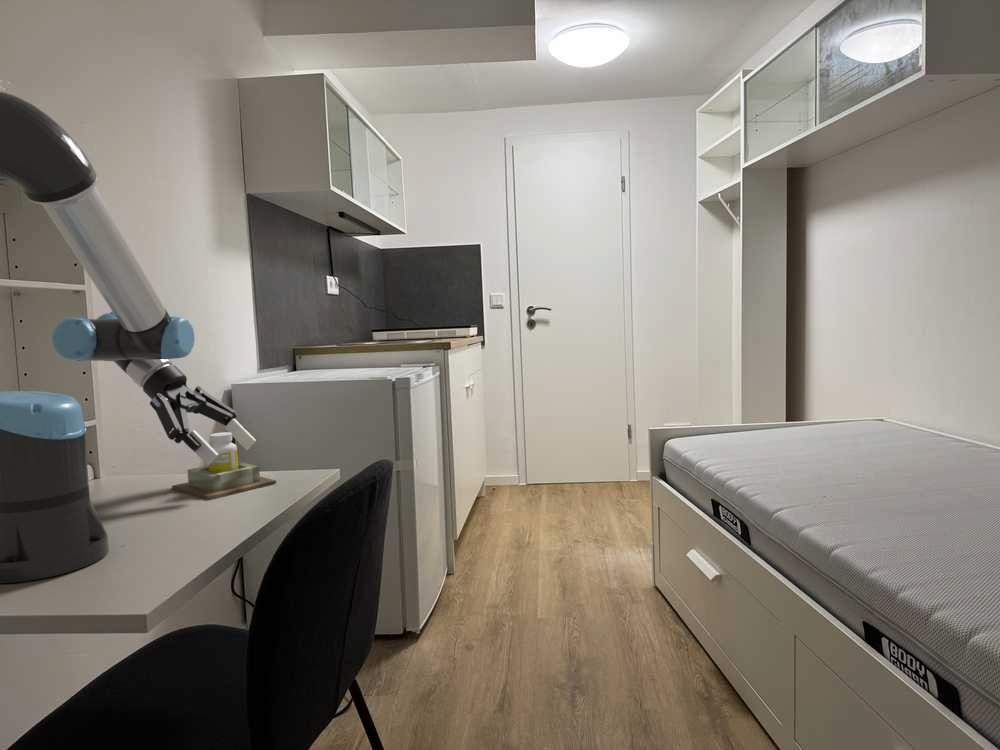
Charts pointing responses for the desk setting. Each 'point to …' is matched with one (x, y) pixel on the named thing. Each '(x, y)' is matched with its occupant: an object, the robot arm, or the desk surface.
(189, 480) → the socket board
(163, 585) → the desk surface
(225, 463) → the supplement bottle
